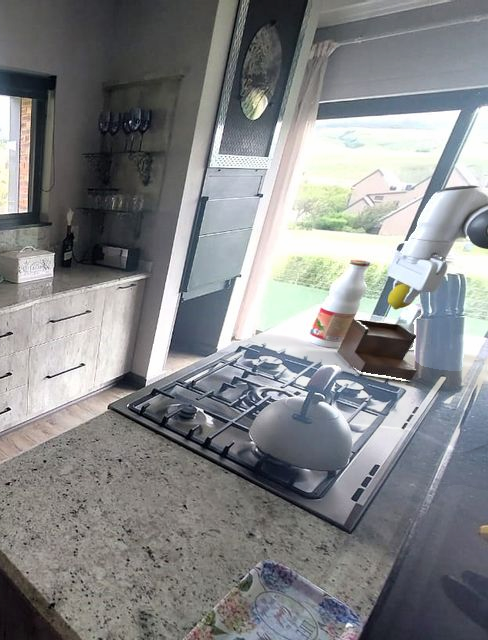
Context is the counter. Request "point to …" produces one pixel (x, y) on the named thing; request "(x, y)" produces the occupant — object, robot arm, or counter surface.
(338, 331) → the fruit juice
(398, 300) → the lemon
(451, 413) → the counter surface
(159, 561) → the counter surface
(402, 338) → the brown stepped wooden block
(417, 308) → the syrup box
